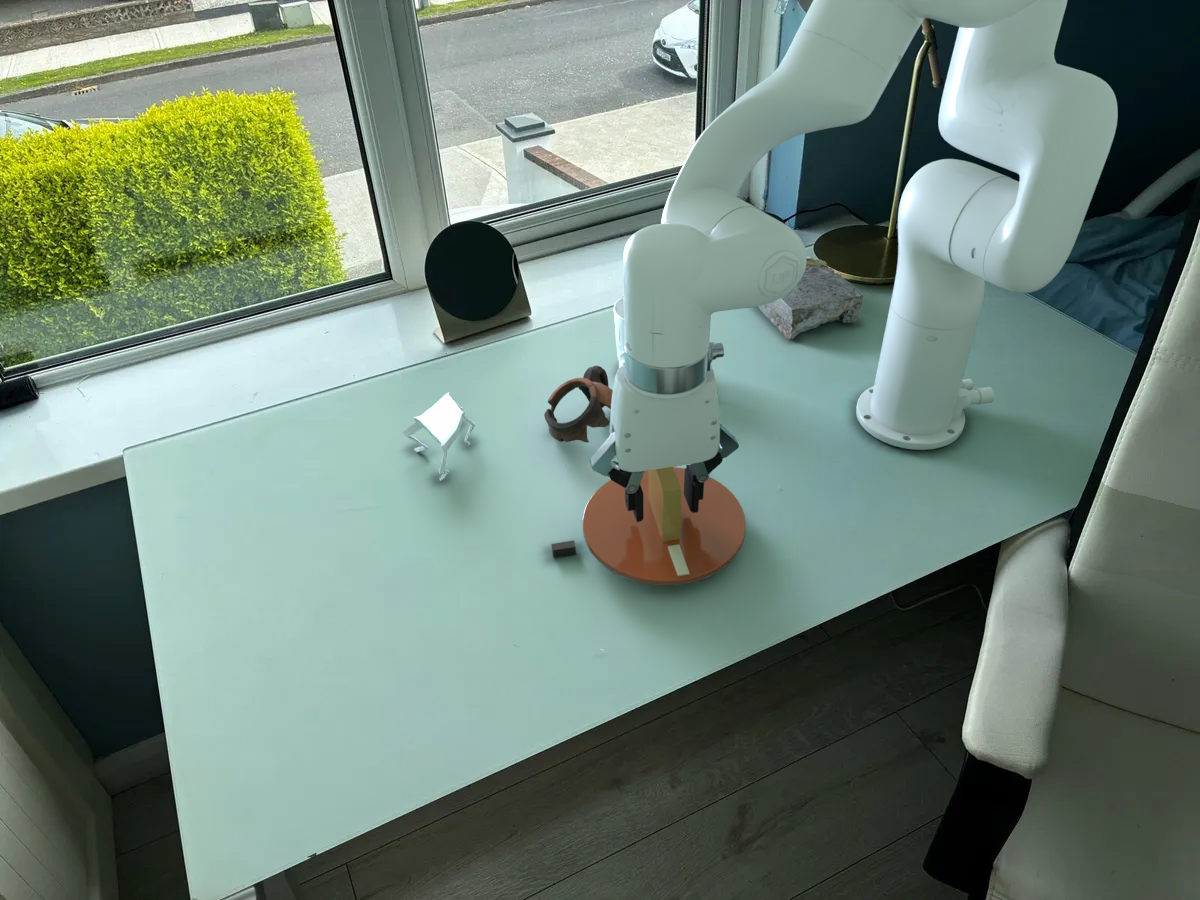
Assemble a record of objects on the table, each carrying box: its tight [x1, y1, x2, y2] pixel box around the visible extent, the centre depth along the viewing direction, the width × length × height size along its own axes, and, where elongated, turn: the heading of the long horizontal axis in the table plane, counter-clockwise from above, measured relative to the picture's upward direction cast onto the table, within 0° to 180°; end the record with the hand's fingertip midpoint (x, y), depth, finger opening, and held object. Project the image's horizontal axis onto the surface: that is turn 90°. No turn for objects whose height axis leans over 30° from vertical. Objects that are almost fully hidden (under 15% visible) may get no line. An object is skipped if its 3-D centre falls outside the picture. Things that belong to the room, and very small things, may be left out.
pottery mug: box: [543, 365, 613, 444], centre depth 109 cm, size 12×10×8 cm
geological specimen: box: [757, 255, 864, 341], centre depth 128 cm, size 11×6×15 cm
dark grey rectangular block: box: [551, 540, 577, 559], centre depth 95 cm, size 17×10×2 cm, turn 101°
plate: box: [581, 466, 747, 586], centre depth 92 cm, size 17×17×8 cm
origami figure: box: [402, 391, 476, 482], centre depth 106 cm, size 12×8×5 cm
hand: (663, 506), depth 93 cm, fingers open, 5 cm apart
